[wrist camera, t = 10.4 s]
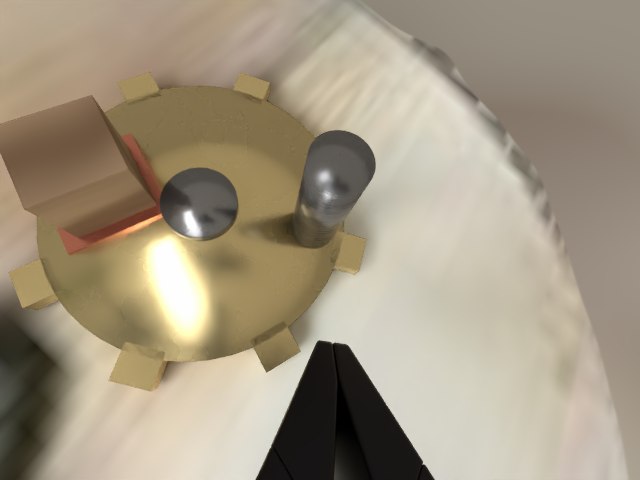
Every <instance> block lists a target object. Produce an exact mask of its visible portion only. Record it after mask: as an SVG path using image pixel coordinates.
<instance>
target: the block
mask: <svg viewBox="0 0 640 480" xmlns="http://www.w3.org/2000/svg"><path fill="white" fill-rule="evenodd" d="M0 153H1V155H2V158H3V160H4V162H5V165H6V167H7V170H8V172H9V174H10V177H11V179H12V181H13V184H14V186H15V189H16V191H17V193H18V196H19V198H20V200H21V203H22V205H23V208H24V209H25V210H27V211H29V212H31V213H32V214H34V215H36V216H38V217H40V218H42V219H44V220H46V221H47V222H49V223H51V224H53V225H55V226H57V227H59V228H60V229H62V230H64V231H66V232H68V233H70V234H72V235H73V236H75V237H77V238H81V237H83V236H86V235H88V234H90V233H93V232H95V231H97V230H100V229H102V228H104V227H107V226H109V225H111V224H114V223H116V222H118V221H121V220H123V219H125V218H128V217H130V216H133V215H135V214H137V213H140V212H142V211H144V210H147V209H149V208H151V207H154V206H156V205H157V203H156V201H155V199H154V197H153V195H152V193H151V191H150V189H149V187H148V185H147V184H146V182H145V180H144V178H143V176H142V174H141V172H140V170H139V168H138V166H137V164H136V162H135V160H134V158H133V156H132V154H131V152H130V150H129V148H128V146H127V144H126V143H125V141H124V140H123V139H122V137H121V136H120V134H119V133H118V132H117V130H116V129H115V127H114V126H113V124H112V123H111V122H110V120H109V119H108V117H107V116H106V115H105V113H104V112H103V110H102V109H101V108H100V106H99V105H98V103H97V102H96V101H95V99H94V98H93V96H92V95H90V96H87V97H84V98H81V99H78V100H74V101H71V102H68V103H65V104H62V105H59V106H55V107H52V108H49V109H46V110H43V111H40V112H37V113H33V114H30V115H27V116H24V117H21V118H18V119H14V120H11V121H8V122H5V123H2V124H0Z"/></svg>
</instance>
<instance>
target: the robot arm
mask: <svg viewBox="0 0 640 480" xmlns="http://www.w3.org/2000/svg"><path fill="white" fill-rule="evenodd" d="M422 464H423V461H422V459H421V458H420V456H419V455H418V453H417V451H416V450H415V448H414V447H413V445H412V444H411V442H410V441H409V439H408V437H407V436H406V434H405V433H404V431H403V430H402V428H401V427H400V425H399V423H398V422H397V420H396V419H395V417H394V416H393V414H392V413H391V411H390V409H389V408H388V406H387V405H386V403H385V402H384V400H383V399H382V397H381V395H380V394H379V392H378V391H377V389H376V388H375V386H374V385H373V383H372V381H371V380H370V378H369V377H368V375H367V374H366V372H365V371H364V369H363V367H362V366H361V364H360V363H359V361H358V360H357V358H356V357H355V355H354V353H353V352H352V350H351V349H350V347H349V346H348V345H346V344H341V343H333V344H332V343H331V342H327V341H320V340H319V341H317V343H316V345H315V347H314V350H313V352H312V354H311V356H310V359H309V361H308V363H307V366H306V368H305V370H304V372H303V375H302V377H301V379H300V381H299V384H298V386H297V388H296V391H295V393H294V395H293V397H292V400H291V402H290V404H289V407H288V409H287V411H286V413H285V416H284V418H283V420H282V423H281V425H280V427H279V429H278V432H277V434H276V436H275V438H274V441H273V443H272V445H271V448H270V449H269V452H268V454H267V456H266V459H265V461H264V463H263V465H262V467H261V470H260V472H259V474H258V476H257V478H256V480H435V479H434V478H433V476H432V475H431V473H430V471H429V470H428V468H427V467H426V465H424V464H423V465H422Z"/></svg>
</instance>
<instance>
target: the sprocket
mask: <svg viewBox="0 0 640 480" xmlns="http://www.w3.org/2000/svg"><path fill="white" fill-rule="evenodd" d="M117 83H118V85H119V87H120V89H121V91H122V93H123V95H124V97H125V99H126V101H125V102H123V103H121V104H119V105H117V106H115V107H114V108H112V109H110V110H108V111H107V112H105V115H106V116H107V117H108V119H109V120H110V122H111V123H112V124H113V126H114V127H115V129H116V130H117V132H118V133H119V134H120V136H121V137H122V139H123V140H124V141H125V143H126V144H127V146H128V148H129V150H130V152H131V154H132V156H133V158H134V160H135V162H136V164H137V166H138V168H139V170H140V172H141V174H142V176H143V178H144V180H145V182H146V184H147V185H148V187H149V189H150V191H151V193H152V195H153V197H154V199H155V201H156V203H157V205H156V206H154V207H151V208H149V209H147V210H144V211H142V212H140V213H137V214H135V215H133V216H130V217H128V218H125V219H123V220H121V221H118V222H116V223H114V224H111V225H109V226H107V227H104V228H102V229H100V230H97V231H95V232H93V233H90V234H88V235H86V236H83V237H81V238H77V237H75V236H73V235H72V234H70V233H68V232H66V231H64V230H62V229H60V228H59V227H57V226H55V225H53V224H51V223H49V222H47V221H46V220H44V219H42V218H40V217H38V216H37V243H38V250H39V256H40V259H38V260H36V261H33V262H31V263H29V264H26V265H24V266H22V267H19V268H17V269H15V270H12V271H10V272H9V275H10V277H11V280H12V282H13V285H14V287H15V290H16V292H17V295H18V298H19V300H20V303H21V305H22V308H25V309H33V310H39V309H41V308H43V307H45V306H47V305H49V304H52V303H54V302H56V301H58V300H59V301H60V302H61V303H62V305H63V306H64V307H65V309H66V310H67V311H68V312H69V313H70V314H71V315H72V316H73V317H74V318H75V319H76V320H77V321H78V322H79V323H80V324H81V325H82V326H83V327H84V328H86V329H87V330H89V331H90V332H91V333H93V334H94V335H96V336H97V337H98V338H100V339H101V340H103V341H105V342H107V343H109V344H111V345H113V346H115V347H117V348H119V349H121V353H120V355H119V357H118V360H117V362H116V364H115V367H114V369H113V371H112V374H111V376H110V378H109V381H112V382H116V383H120V384H124V385H128V386H132V387H136V388H140V389H143V390H147V391H152V390H155V389H157V388H158V386H159V383H160V381H161V378H162V375H163V373H164V370H165V368H166V365H167V362H168V361H182V362H190V361H202V360H211V359H216V358H220V357H225V356H230V355H233V354H236V353H239V352H242V351H244V350H247V349H250V348H253V347H254V349H255V351H256V353H257V355H258V357H259V359H260V361H261V363H262V365H263V367H264V369H265V371H266V373H267V372H268V371H270V370H272V369H273V368H275V367H276V366H278V365H280V364H281V363H283V362H284V361H286V360H288V359H289V358H291V357H293V356H294V355H296V354H297V353H299V352H301V351H300V349H299V347H298V345H297V344H296V342H295V340H294V338H293V336H292V334H291V332H290V331H289V329H288V326H289V325H291V324H292V323H293V322H294V321H295V320H296V319H297V318H298V317H300V316H301V315H302V314H303V313H304V312H305V311H306V310H307V308H308V307H309V306H310V305H311V304H312V303H313V302H314V300H315V299H316V298H317V297H318V295H319V294H320V292H321V291H322V289H323V287H324V286H325V284H326V283H327V281H328V279H329V277H330V275H331V273H332V271H333V269H337V270H340V271H343V272H347V273H350V274H354V275H355V274H356V273H357V272H359V270H360V265H361V261H362V257H363V252H364V248H365V243H366V239H364V238H360V237H357V236H354V235H350V234H347V233H344V220H345V218H346V217H347V215H348V214H349V212H350V211H351V209H352V208H353V206H354V205H355V203H356V202H357V200H358V199H359V197H360V196H361V194H362V193H363V191H364V190H365V188H366V187H367V185H368V184H369V182H370V181H371V179H372V177H373V175H374V172H375V164H376V163H375V158H374V154H373V152H372V150H371V148H370V147H369V146H368V144H367V143H366V142H365V141H364V140H363V139H361V138H360V137H359V136H357V135H355V134H353V133H350V132H347V131H341V130H335V131H329V132H326V133H323V134H321V135H320V136H318V137H317V138H316V139H315V138H314V137H313V136H312V135H311V133H310V132H309V131H308V130H307V129H306V128H305V127H304V126H303V125H301V124H300V123H299V122H298V121H297V120H296V119H294V118H293V117H292V116H290V115H289V114H287V113H286V112H285V111H283V110H282V109H280V108H278V107H277V106H275V105H273V104H271V103H269V102H267V99H268V97H269V94H270V82H267V81H264V80H261V79H258V78H255V77H252V76H249V75H246V74H242V73H240V74H239V76H238V79H237V81H236V83H235V86H234V88H233V90H232V89H225V88H219V87H209V86H185V87H174V88H168V89H162V90H159V88H158V86H157V84H156V83H155V81H154V79H153V77H152V75H151V73H150V72H149V73H146V74H142V75H139V76H136V77H133V78H130V79H126V80H123V81H120V82H117Z"/></svg>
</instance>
